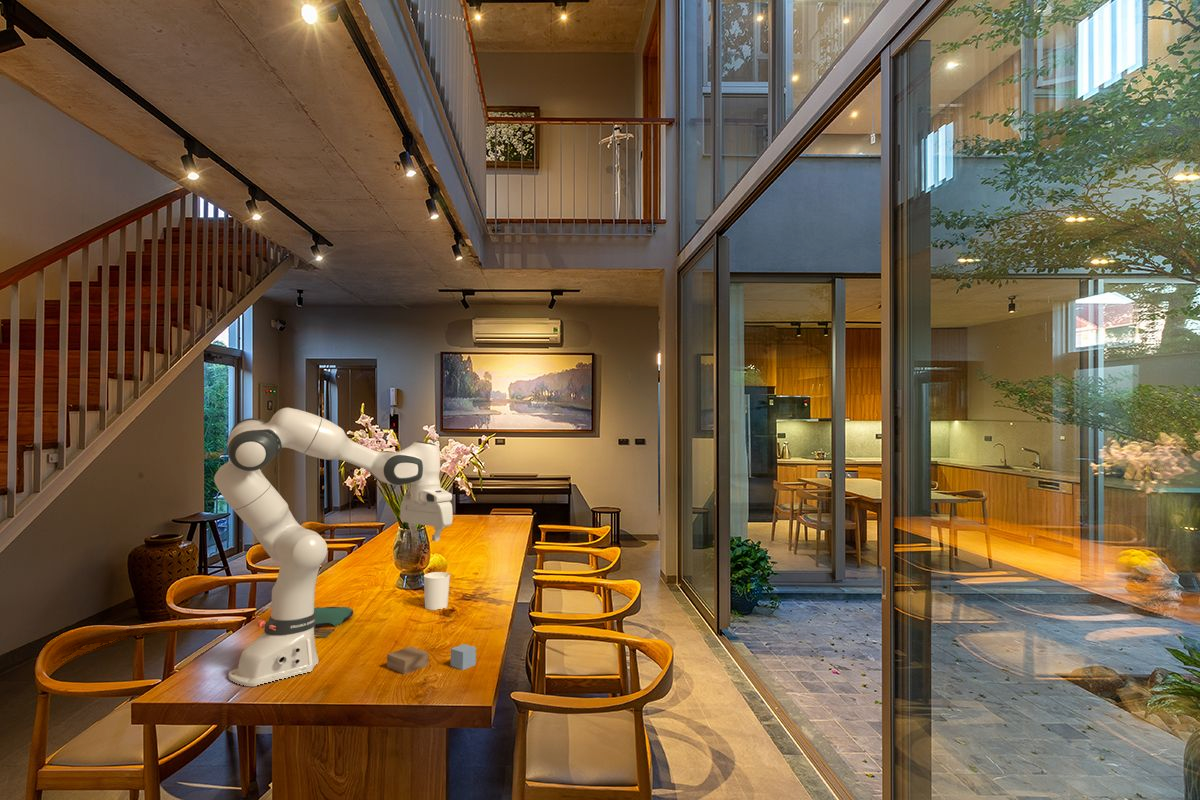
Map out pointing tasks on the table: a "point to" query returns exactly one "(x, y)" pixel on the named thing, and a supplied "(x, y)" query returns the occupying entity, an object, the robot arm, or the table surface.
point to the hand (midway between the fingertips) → (425, 539)
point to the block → (463, 656)
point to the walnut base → (407, 660)
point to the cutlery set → (330, 617)
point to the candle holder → (436, 590)
